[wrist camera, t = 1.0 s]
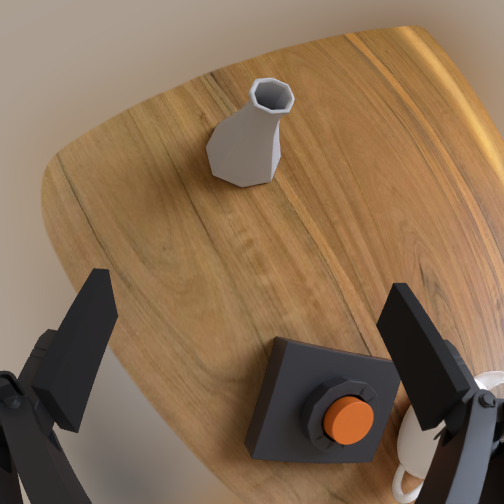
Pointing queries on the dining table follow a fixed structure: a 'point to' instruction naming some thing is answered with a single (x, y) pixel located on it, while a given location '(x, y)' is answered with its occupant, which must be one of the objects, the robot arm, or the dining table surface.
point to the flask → (251, 136)
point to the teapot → (425, 442)
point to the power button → (348, 420)
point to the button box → (317, 403)
